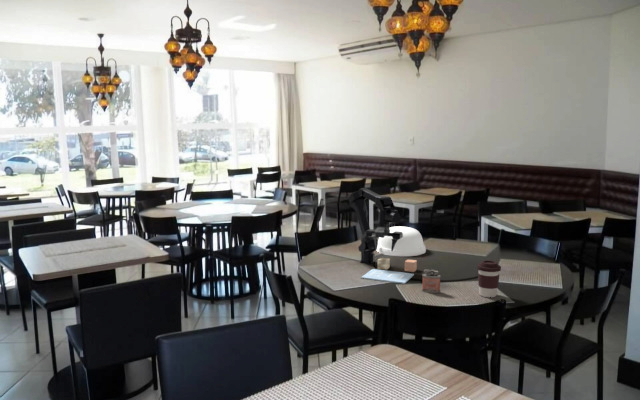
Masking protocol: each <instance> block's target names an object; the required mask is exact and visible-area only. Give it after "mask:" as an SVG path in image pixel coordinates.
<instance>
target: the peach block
mask: <svg viewBox="0 0 640 400" xmlns="http://www.w3.org/2000/svg"><path fill="white" fill-rule="evenodd" d="M417 268H418V260H416V259H406V260H405V261H404V272H408V273H409V272H411V273H415V272H416V271H417Z"/></svg>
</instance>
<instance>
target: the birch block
mask: <svg viewBox="0 0 640 400" xmlns="http://www.w3.org/2000/svg"><path fill="white" fill-rule="evenodd" d="M390 262H391V258H389V257H379V258H378V259H377V268H376V269H377V270H385V271H388V269H390V266H391V265H390V264H391V263H390Z"/></svg>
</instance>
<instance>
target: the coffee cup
mask: <svg viewBox="0 0 640 400" xmlns="http://www.w3.org/2000/svg"><path fill="white" fill-rule="evenodd" d="M476 269H477V270H478V273H477V277H478V278H477V279H478V280H477V281H478V291H479V292H478V294H479V295H480V296H481V297H484V298H490V297H491V298H495V297H497V295H498V294H497V293H498V287H499V283H500V281H499V280H500V272H501V270H502V266H501V264H498V262H497V261H495V260H487V259H486V260H481V261H480V263H477V265H476Z"/></svg>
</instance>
